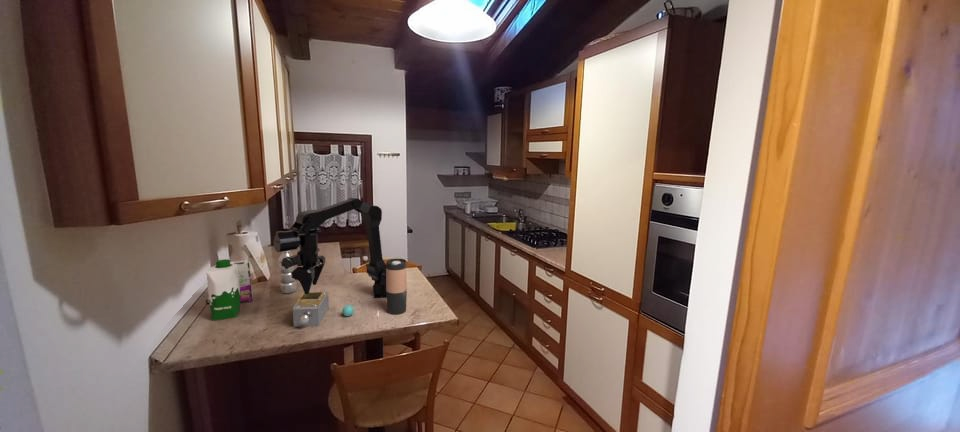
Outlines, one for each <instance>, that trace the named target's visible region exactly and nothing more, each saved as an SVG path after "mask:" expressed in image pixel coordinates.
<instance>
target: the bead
mask: <svg viewBox="0 0 960 432" xmlns="http://www.w3.org/2000/svg"><path fill="white" fill-rule="evenodd" d="M341 312H342V314H343V316H345V317H351V316H352V315H353V314H354V312H355V308H354V307H353V305H350V304H347V305H344V307H343V308H342V311H341Z"/></svg>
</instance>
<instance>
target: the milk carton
mask: <svg viewBox="0 0 960 432" xmlns="http://www.w3.org/2000/svg"><path fill="white" fill-rule="evenodd" d="M230 261H231V260H230V259H228V258H227V259H226V258H225V259H218V260H216V261H215V264H216V266H215V265H212V266H211V267H210V268H209V269H208V270H207V272H206V281H207V294H208V301H209V308H210V314H211V318H212V321H213V320H214V321H218V320H219V321H220V320H226V319H233V318H237V317H238V314H239V312H240V310H241V308H240V307H241V302H240V300H241V299H240V286H239V276H238V267H237V264H230Z"/></svg>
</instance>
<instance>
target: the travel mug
mask: <svg viewBox="0 0 960 432" xmlns="http://www.w3.org/2000/svg"><path fill="white" fill-rule="evenodd" d="M385 264H386V294H387V297H386V307H387V309H386V310H387V313H388V314H389V315H392V316H393V315H394V316H395V315H396V316H397V315H402V314H404V313H405V312H406V311H407V295H408V294H407V293H408V292H407V290H408V287H407V286H408V285H407V284H408V282H407V277H408V276H407V275H408V274H407V260H406V259H404V258H391V259H388V260H386V262H385Z"/></svg>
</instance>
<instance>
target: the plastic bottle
mask: <svg viewBox="0 0 960 432" xmlns="http://www.w3.org/2000/svg"><path fill="white" fill-rule="evenodd" d="M292 251H293V250H289V251H283V252H281V254H280V255H279V257H278V265H279V269H280V271H279V272H280V287H279V289H280V292H282V293H283V294H290V293H294V292H296V290H298V283H297V281H298V280H295V279H294V278H292V274H291V273H292V272H293V271H294V270H295V269H296V265H295V266H292V267H289V268H288V269H285V267H283V266H281V264H282V263H281V262H282V259H283V258H286V257H288V256H289V257H290V256H293V255H294V254H293V253H292Z"/></svg>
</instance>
